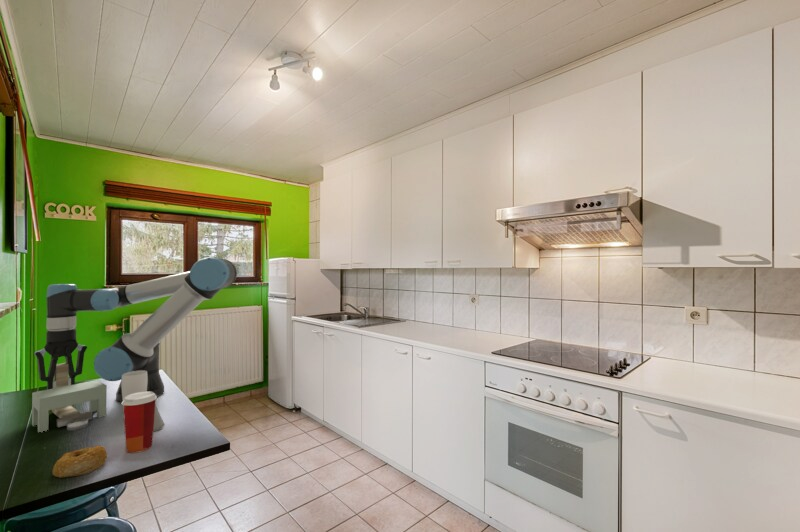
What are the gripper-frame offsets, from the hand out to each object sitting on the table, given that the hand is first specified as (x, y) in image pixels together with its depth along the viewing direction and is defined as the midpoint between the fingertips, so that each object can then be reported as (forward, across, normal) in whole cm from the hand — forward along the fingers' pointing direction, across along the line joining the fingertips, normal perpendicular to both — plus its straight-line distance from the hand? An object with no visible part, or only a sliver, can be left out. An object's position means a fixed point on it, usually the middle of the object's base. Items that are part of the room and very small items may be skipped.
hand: (61, 398), depth 124 cm
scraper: (+4, 0, +8) cm, 9 cm away
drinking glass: (+5, -12, +29) cm, 32 cm away
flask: (+5, -12, +40) cm, 43 cm away
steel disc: (+5, 0, +20) cm, 21 cm away
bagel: (+5, +6, +52) cm, 53 cm away
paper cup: (+5, -6, +52) cm, 52 cm away
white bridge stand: (+5, 0, +12) cm, 12 cm away
